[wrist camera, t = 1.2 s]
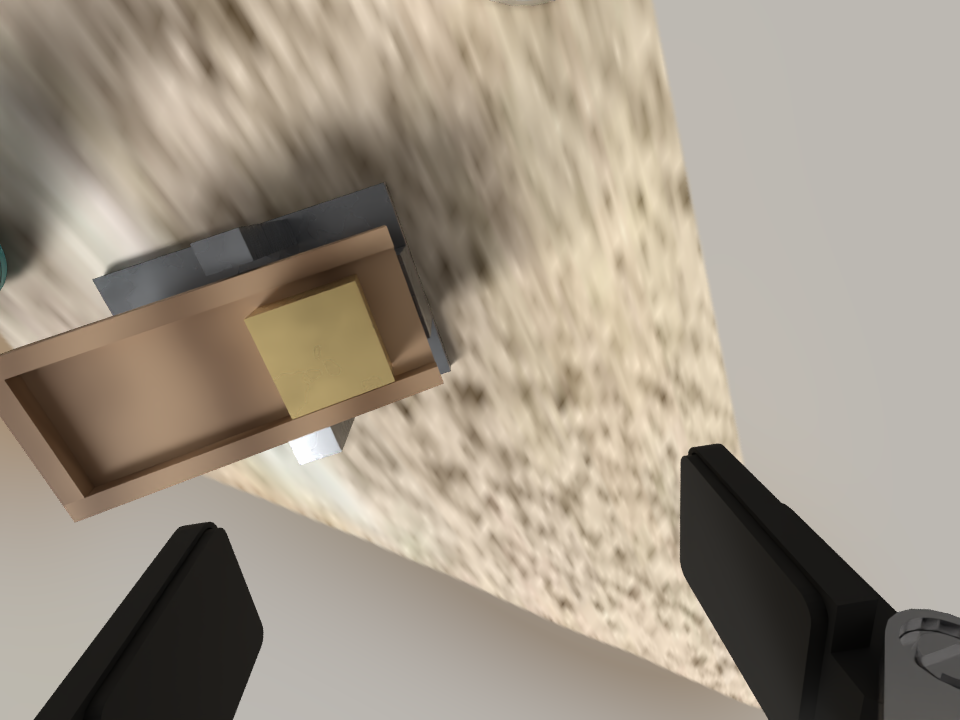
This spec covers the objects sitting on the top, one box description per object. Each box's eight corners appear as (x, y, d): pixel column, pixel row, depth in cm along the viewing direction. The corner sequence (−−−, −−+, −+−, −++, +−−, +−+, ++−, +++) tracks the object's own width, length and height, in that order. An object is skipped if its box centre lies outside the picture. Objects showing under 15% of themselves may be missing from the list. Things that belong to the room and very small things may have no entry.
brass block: (356, 273, 25) (355, 281, 22) (391, 363, 27) (395, 381, 24) (257, 307, 24) (243, 319, 22) (300, 397, 26) (292, 419, 23)
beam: (384, 224, 27) (386, 226, 24) (436, 367, 29) (443, 383, 27) (11, 349, 24) (-35, 367, 22) (104, 490, 27) (75, 522, 24)
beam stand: (385, 182, 31) (365, 180, 23) (450, 366, 36) (453, 420, 27) (102, 276, 32) (-17, 307, 24) (198, 446, 36) (126, 523, 28)
